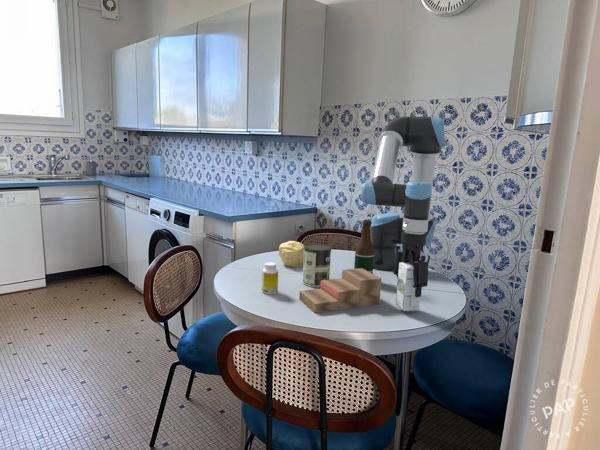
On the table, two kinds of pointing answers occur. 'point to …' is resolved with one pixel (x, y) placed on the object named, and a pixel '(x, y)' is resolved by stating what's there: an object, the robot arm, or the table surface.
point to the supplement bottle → (270, 278)
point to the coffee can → (316, 264)
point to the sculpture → (292, 253)
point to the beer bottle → (365, 249)
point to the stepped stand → (344, 292)
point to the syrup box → (405, 287)
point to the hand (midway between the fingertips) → (407, 301)
